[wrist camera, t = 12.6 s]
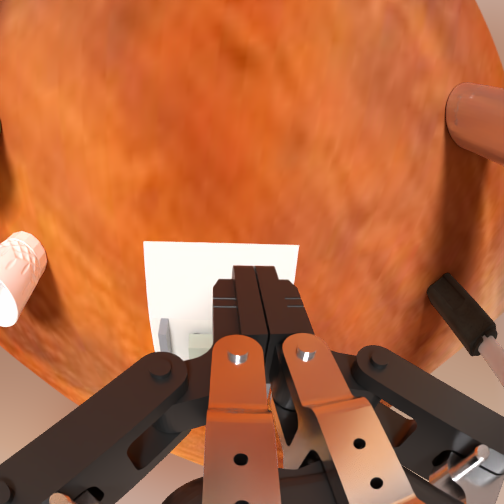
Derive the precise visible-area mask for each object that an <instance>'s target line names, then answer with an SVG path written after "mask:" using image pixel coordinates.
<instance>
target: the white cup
mask: <svg viewBox="0 0 504 504" xmlns="http://www.w3.org/2000/svg"><path fill="white" fill-rule="evenodd" d="M46 264H47V258H46V252H45V250H44V248H43V246H42V245H41V243H40V241H39V240H37V239H36V238H35V237H34V236H33V235H32V234H30V233H27V232H24V231H20V232H15V233H13V234H12V235H11V236H10V237H9V238H8V239H7V240H5V241H4V242H2V243H1V244H0V326H2V327H10V326H12V325H14V324H15V323H16V321H17V319H18V318H19V316H20V314H21V312H22V310H23V308H24V306H25V305H26V303H27V301H28V299H29V298H30V296H31V294H32V292H33V290H34V288H35V287H36V285H37V283H38V281H39V279H40V277H41V276H42V274H43V272H44V271H45V268H46Z"/></svg>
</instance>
